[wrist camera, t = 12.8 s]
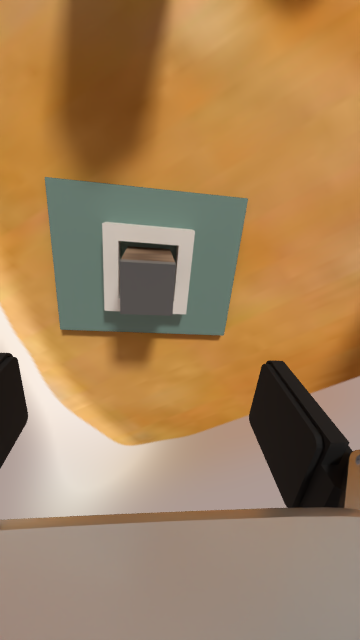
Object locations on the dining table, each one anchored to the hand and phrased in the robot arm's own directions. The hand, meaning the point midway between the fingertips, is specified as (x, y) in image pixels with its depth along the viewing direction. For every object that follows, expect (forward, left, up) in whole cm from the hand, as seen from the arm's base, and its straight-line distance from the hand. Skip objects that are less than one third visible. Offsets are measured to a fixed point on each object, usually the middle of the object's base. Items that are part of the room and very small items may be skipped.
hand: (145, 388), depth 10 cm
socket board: (0, 0, -22) cm, 22 cm away
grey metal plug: (0, 0, -21) cm, 21 cm away
